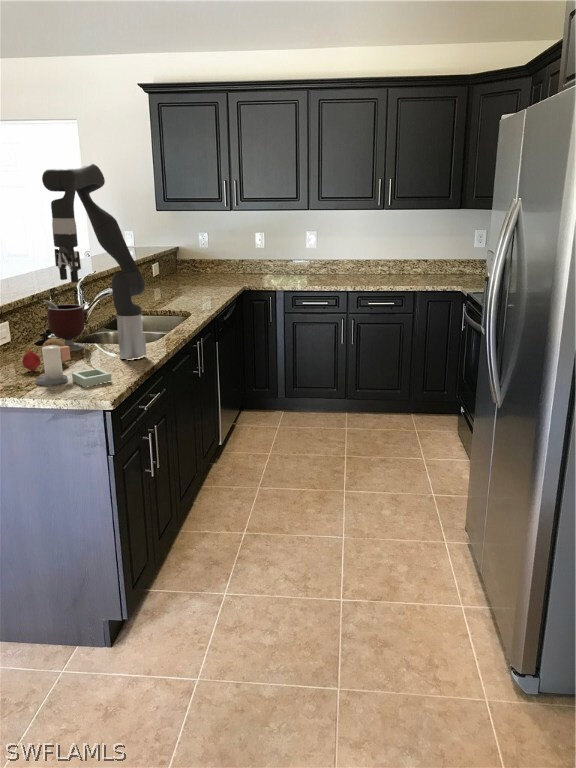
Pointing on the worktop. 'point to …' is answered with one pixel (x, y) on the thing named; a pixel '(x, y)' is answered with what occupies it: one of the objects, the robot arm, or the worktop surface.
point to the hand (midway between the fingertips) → (69, 281)
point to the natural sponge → (53, 343)
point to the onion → (31, 360)
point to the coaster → (43, 381)
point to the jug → (55, 360)
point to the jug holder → (91, 377)
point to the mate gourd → (66, 323)
